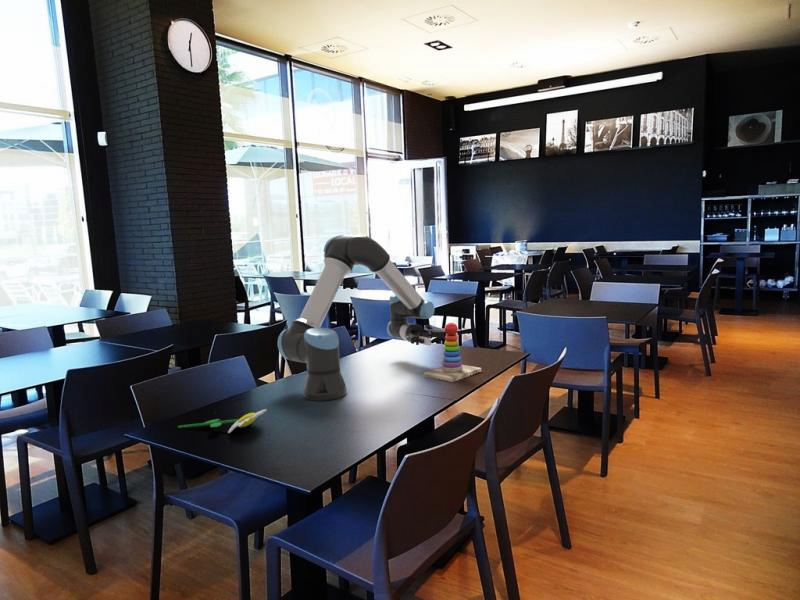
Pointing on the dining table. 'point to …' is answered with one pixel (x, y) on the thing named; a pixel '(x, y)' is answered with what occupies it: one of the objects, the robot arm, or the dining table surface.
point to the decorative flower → (240, 422)
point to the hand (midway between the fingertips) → (443, 339)
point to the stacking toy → (451, 350)
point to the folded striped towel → (452, 373)
